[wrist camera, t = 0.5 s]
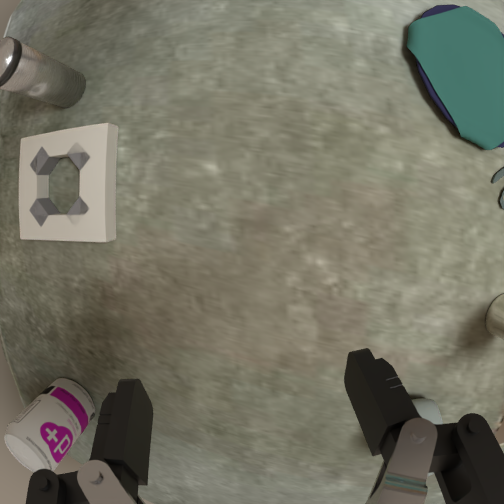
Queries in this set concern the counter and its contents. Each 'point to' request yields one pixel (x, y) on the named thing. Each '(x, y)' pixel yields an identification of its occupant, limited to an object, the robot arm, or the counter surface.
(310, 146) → the counter surface
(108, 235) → the mount plate
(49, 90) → the grey cylindrical piece
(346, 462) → the counter surface
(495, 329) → the beer glass
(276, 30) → the counter surface
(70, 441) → the supplement can
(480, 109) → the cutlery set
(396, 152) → the counter surface
